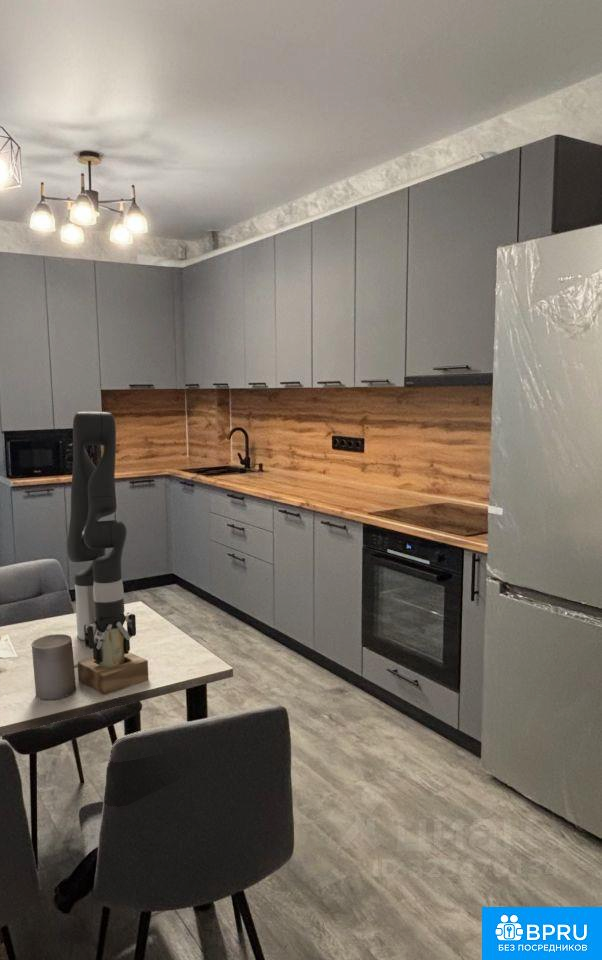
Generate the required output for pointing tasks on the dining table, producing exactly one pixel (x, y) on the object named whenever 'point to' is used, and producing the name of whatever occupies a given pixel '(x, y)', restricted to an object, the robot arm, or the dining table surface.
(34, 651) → the pillar candle
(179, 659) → the dining table surface
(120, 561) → the robot arm
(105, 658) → the skincare box
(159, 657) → the dining table surface
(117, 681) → the socket block
